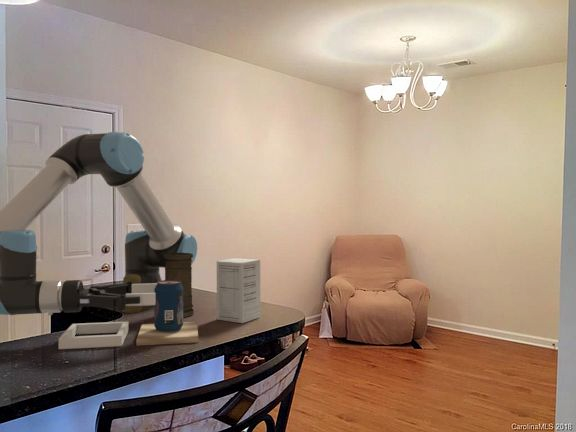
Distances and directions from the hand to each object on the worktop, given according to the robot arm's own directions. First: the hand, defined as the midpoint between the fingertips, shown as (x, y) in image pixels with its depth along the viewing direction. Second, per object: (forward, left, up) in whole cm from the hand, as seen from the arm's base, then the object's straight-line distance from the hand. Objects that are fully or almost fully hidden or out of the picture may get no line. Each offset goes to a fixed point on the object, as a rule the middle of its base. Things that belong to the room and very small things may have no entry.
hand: (157, 293), depth 117 cm
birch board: (0, +3, -11) cm, 11 cm away
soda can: (0, +3, -9) cm, 10 cm away
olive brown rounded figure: (-31, -9, -11) cm, 34 cm away
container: (-23, +5, -11) cm, 26 cm away
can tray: (0, -14, -11) cm, 18 cm away
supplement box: (-15, +22, -11) cm, 29 cm away
